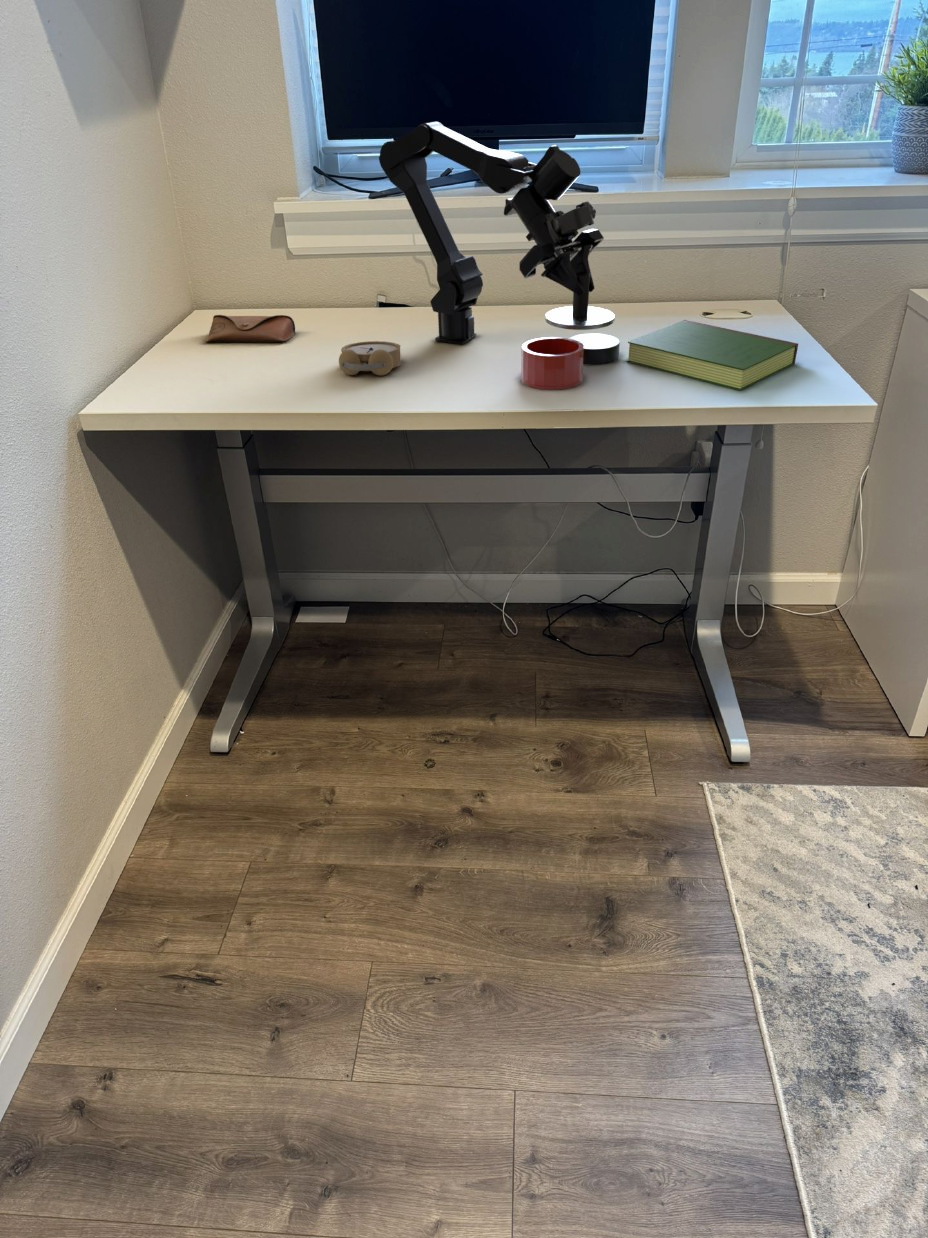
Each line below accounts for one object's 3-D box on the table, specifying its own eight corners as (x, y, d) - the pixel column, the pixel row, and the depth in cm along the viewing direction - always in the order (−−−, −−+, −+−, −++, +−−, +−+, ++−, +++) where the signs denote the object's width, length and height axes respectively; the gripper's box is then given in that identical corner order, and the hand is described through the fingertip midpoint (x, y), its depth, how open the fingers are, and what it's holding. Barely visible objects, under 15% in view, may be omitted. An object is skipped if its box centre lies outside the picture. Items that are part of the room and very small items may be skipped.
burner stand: (558, 361, 167) (558, 345, 165) (577, 346, 174) (578, 330, 172) (607, 367, 163) (608, 351, 161) (625, 352, 170) (627, 336, 168)
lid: (534, 324, 158) (535, 278, 153) (560, 307, 167) (562, 263, 162) (600, 333, 153) (603, 285, 148) (623, 314, 162) (627, 269, 158)
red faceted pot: (511, 384, 156) (511, 351, 153) (536, 366, 164) (537, 334, 161) (568, 393, 152) (569, 359, 149) (591, 373, 160) (593, 341, 157)
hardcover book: (794, 363, 161) (798, 343, 159) (740, 390, 150) (743, 369, 148) (679, 338, 176) (681, 319, 174) (623, 360, 166) (624, 340, 163)
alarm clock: (405, 341, 170) (390, 350, 157) (406, 367, 172) (391, 378, 159) (349, 340, 171) (329, 350, 158) (350, 366, 174) (331, 378, 160)
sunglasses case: (202, 341, 182) (202, 309, 182) (214, 349, 189) (214, 318, 189) (286, 341, 181) (286, 308, 180) (295, 349, 188) (296, 318, 187)
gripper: (534, 194, 144) (585, 273, 144) (598, 179, 155) (645, 253, 156) (497, 239, 153) (545, 314, 153) (560, 222, 164) (605, 292, 164)
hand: (587, 292), depth 156 cm, fingers closed on lid, 3 cm apart
